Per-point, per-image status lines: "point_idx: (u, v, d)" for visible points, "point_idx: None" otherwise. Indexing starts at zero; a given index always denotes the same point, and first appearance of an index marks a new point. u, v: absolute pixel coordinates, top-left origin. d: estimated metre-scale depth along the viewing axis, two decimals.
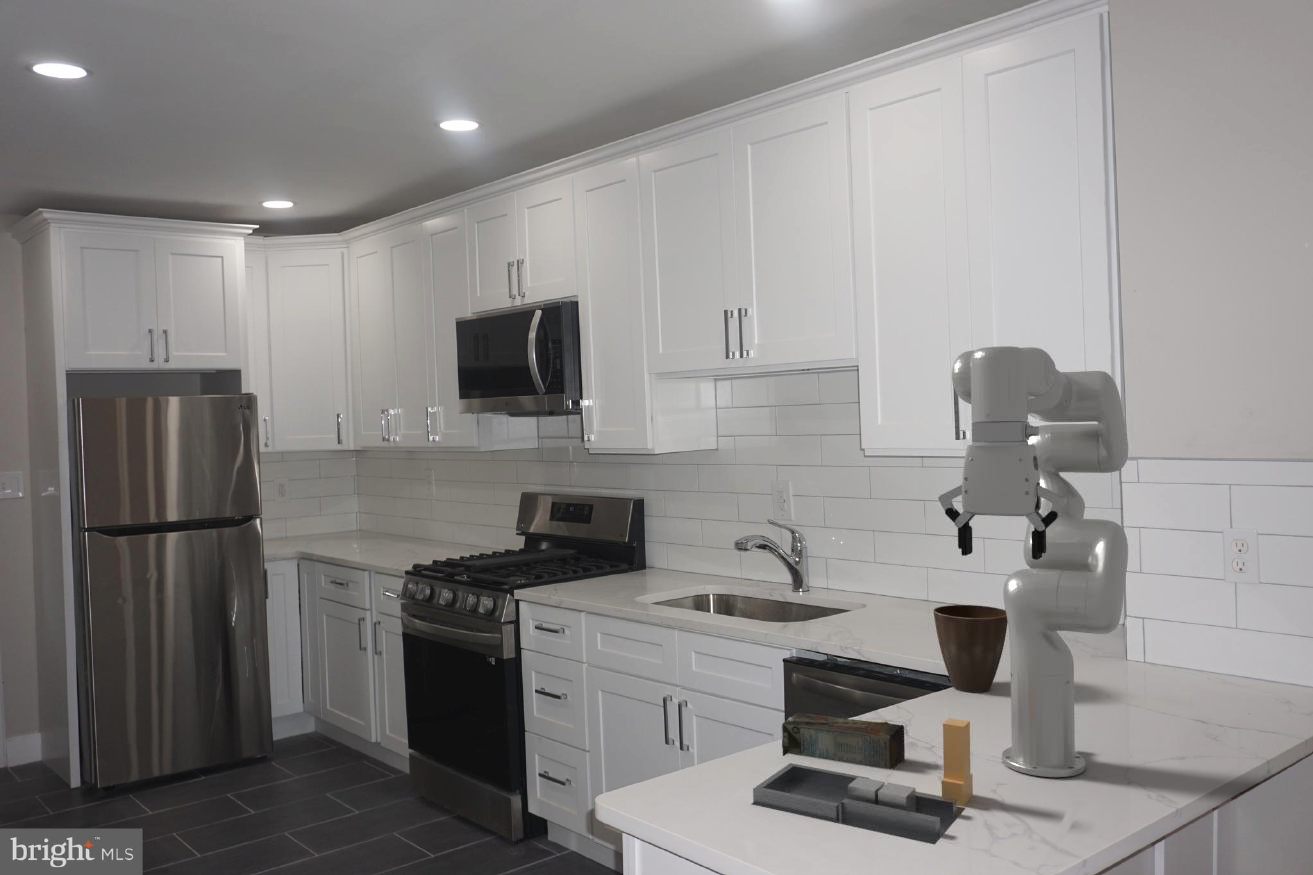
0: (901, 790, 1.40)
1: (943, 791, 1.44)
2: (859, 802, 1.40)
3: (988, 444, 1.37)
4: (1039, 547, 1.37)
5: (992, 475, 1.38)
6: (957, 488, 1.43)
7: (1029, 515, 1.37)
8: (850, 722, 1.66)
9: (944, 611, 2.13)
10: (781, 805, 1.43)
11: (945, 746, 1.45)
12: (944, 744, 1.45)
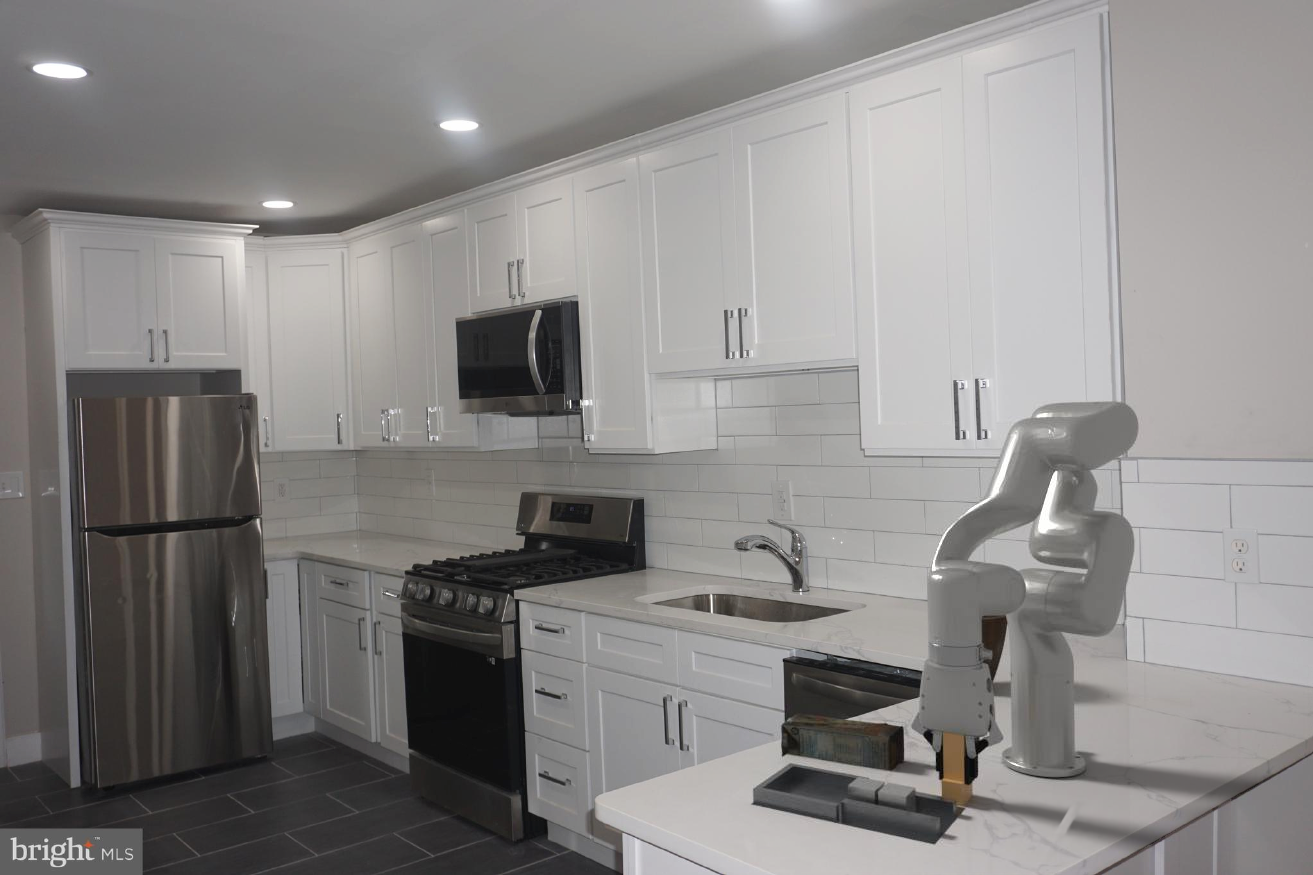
0: (901, 790, 1.40)
1: (943, 791, 1.44)
2: (859, 802, 1.40)
3: (943, 667, 1.42)
4: (971, 772, 1.43)
5: (948, 696, 1.43)
6: None
7: (969, 739, 1.43)
8: (850, 723, 1.65)
9: None
10: (781, 805, 1.43)
11: (945, 746, 1.45)
12: (944, 744, 1.45)
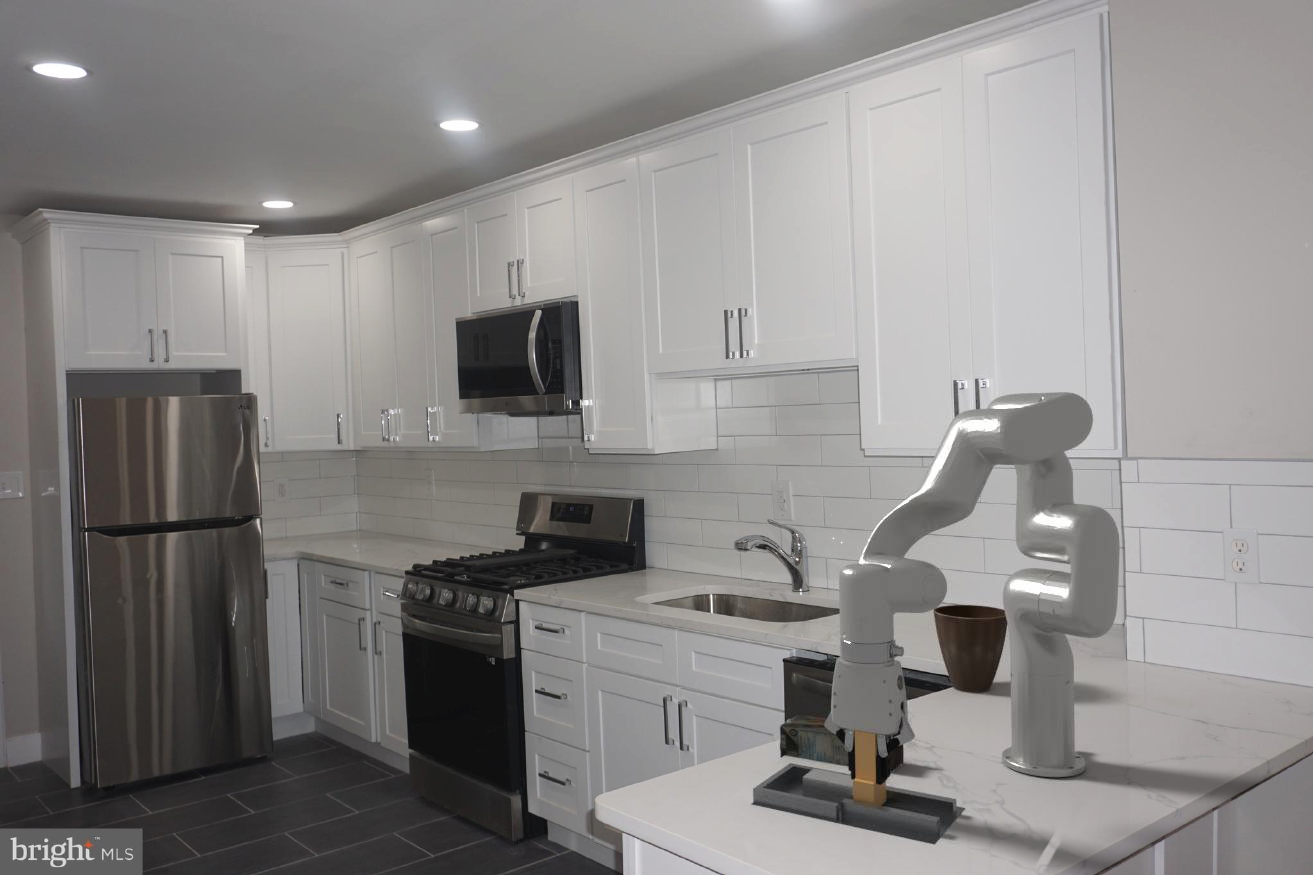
0: (850, 781, 1.44)
1: (854, 791, 1.41)
2: (859, 802, 1.40)
3: (853, 664, 1.39)
4: (883, 772, 1.40)
5: (859, 694, 1.40)
6: None
7: (880, 738, 1.40)
8: None
9: (944, 611, 2.13)
10: (781, 805, 1.43)
11: (857, 745, 1.42)
12: (856, 743, 1.42)
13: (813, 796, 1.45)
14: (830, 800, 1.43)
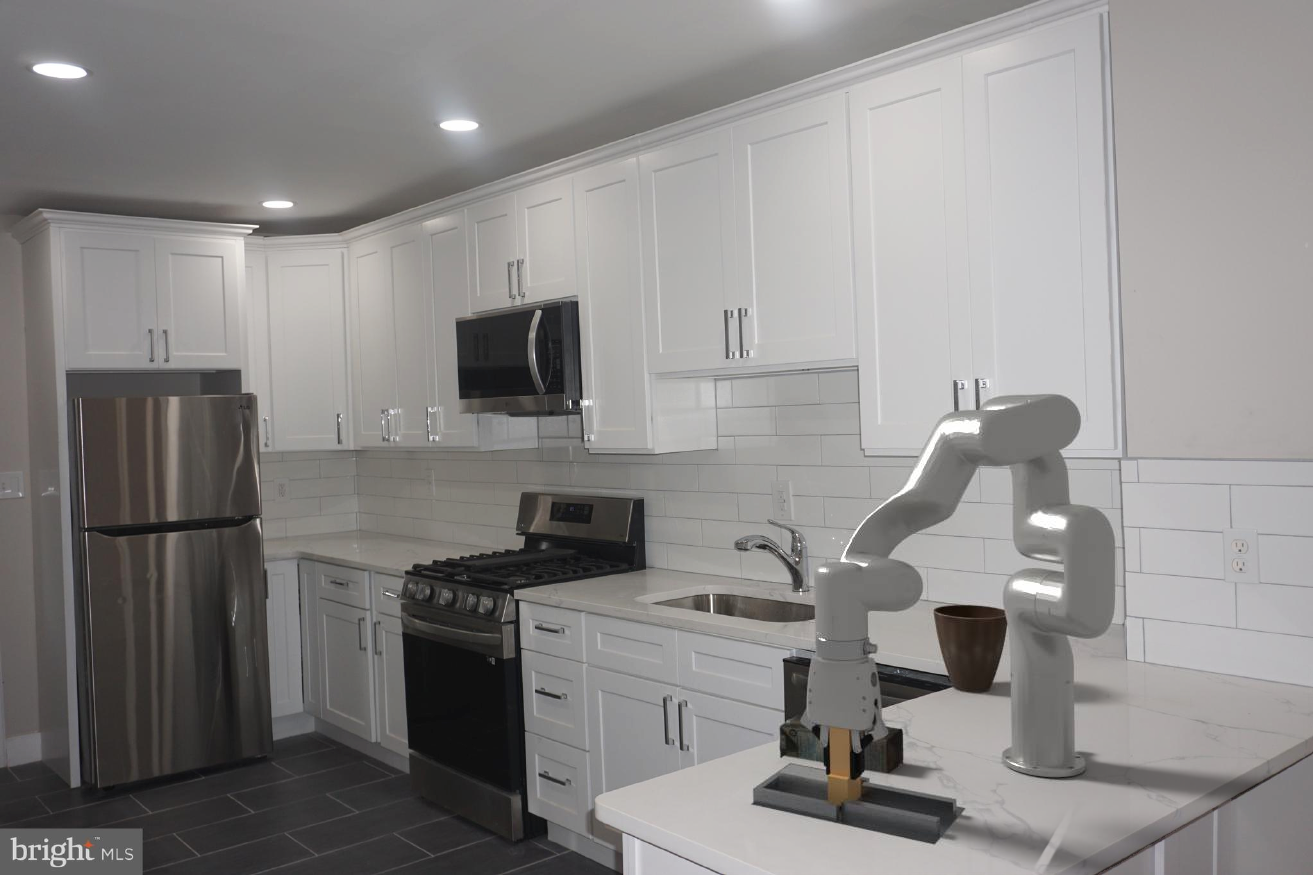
0: (825, 776, 1.46)
1: (829, 787, 1.43)
2: (859, 802, 1.40)
3: (827, 661, 1.41)
4: (857, 767, 1.42)
5: (833, 690, 1.42)
6: None
7: (854, 734, 1.42)
8: None
9: (944, 611, 2.13)
10: (781, 805, 1.43)
11: (831, 741, 1.44)
12: (830, 739, 1.44)
13: (789, 791, 1.47)
14: (805, 795, 1.45)
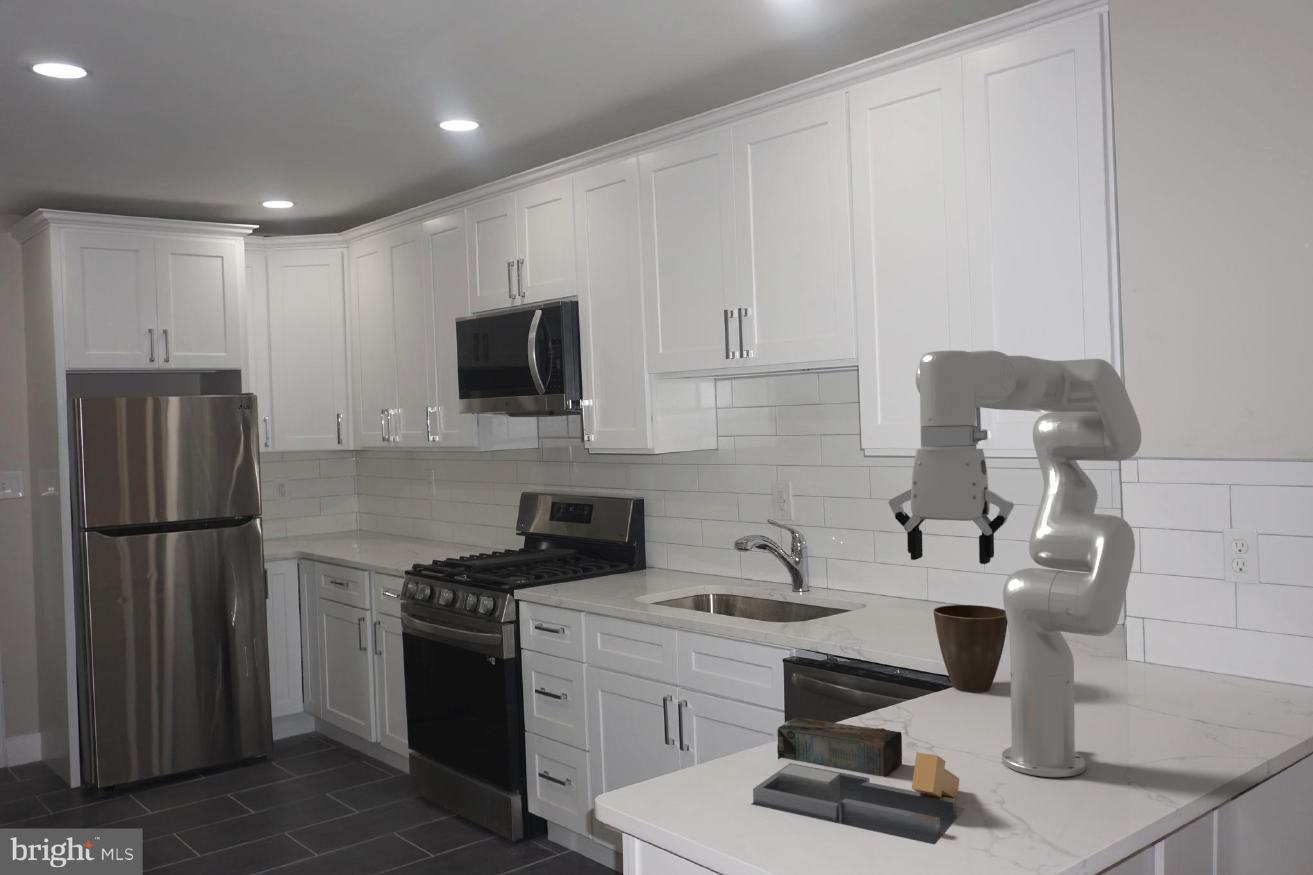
0: (825, 776, 1.46)
1: None
2: (859, 802, 1.40)
3: (936, 448, 1.37)
4: (986, 551, 1.36)
5: (940, 479, 1.38)
6: (907, 492, 1.43)
7: (976, 519, 1.37)
8: (847, 727, 1.63)
9: (944, 611, 2.13)
10: (781, 805, 1.43)
11: None
12: None
13: (789, 791, 1.47)
14: (805, 795, 1.46)
